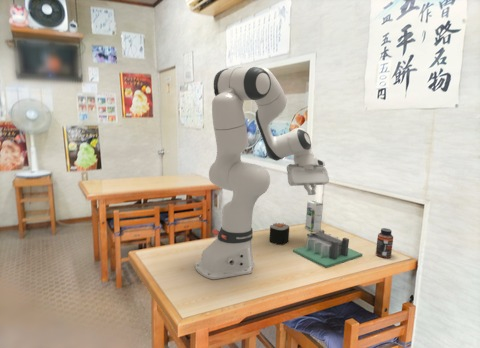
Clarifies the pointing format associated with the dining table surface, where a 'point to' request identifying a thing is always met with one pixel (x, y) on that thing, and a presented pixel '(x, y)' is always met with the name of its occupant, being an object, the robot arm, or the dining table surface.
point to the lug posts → (335, 248)
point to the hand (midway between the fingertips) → (312, 194)
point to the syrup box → (314, 215)
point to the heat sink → (321, 245)
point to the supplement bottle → (384, 243)
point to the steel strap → (327, 238)
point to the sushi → (279, 233)
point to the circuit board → (326, 261)
